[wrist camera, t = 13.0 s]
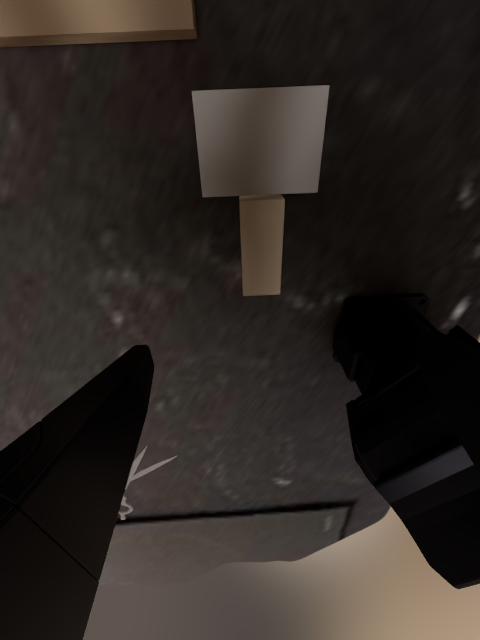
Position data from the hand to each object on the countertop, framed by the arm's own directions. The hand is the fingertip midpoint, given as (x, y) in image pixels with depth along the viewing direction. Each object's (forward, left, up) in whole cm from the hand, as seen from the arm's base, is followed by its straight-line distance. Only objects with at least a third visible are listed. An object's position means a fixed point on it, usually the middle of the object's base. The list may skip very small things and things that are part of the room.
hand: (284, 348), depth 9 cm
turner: (0, -2, -12) cm, 12 cm away
